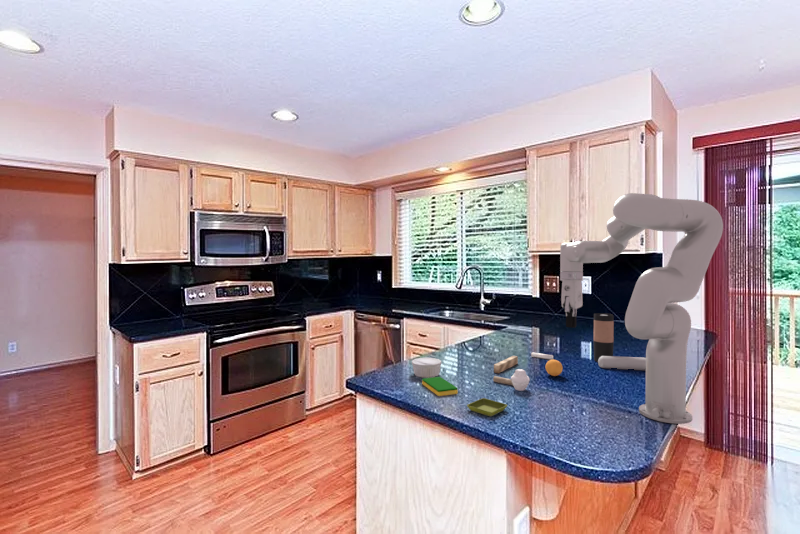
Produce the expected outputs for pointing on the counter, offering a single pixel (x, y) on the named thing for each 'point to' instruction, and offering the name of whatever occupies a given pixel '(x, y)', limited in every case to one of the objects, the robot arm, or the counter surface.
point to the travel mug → (603, 335)
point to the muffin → (520, 380)
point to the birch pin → (502, 380)
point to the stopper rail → (505, 364)
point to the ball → (554, 367)
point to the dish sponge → (439, 386)
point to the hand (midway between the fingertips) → (571, 326)
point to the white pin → (542, 356)
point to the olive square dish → (487, 407)
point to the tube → (622, 362)
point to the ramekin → (426, 367)
